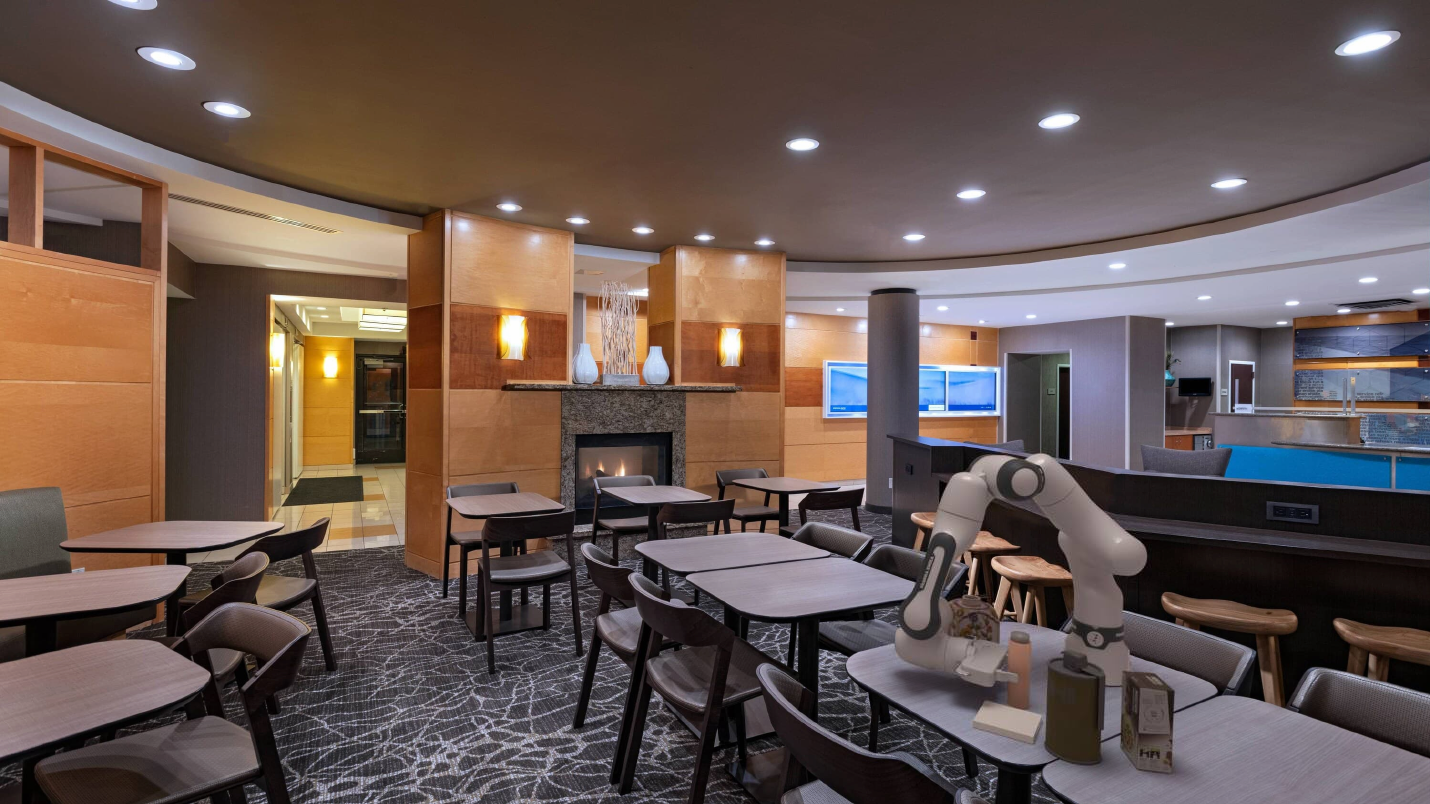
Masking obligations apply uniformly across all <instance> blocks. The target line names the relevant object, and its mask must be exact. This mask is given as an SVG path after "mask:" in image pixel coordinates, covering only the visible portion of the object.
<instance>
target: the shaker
mask: <svg viewBox="0 0 1430 804" xmlns="http://www.w3.org/2000/svg"><path fill="white" fill-rule="evenodd" d="M1030 637H1031V635H1030V634H1029V633H1028V632H1026V631H1025V632H1024V631H1022V630H1021V631H1020V630H1013V631H1011V632H1010V637H1009V638H1008V648H1009V650H1008V664H1007V672H1011V671H1012V672H1015V673H1018V674H1019V681H1018V682H1017V683H1016V682H1011V681H1006V683H1007V686H1006V687H1007V689H1006V704H1007V706H1009V707H1013V708H1017V709H1021V710H1028V709H1029V708H1030V697H1031V693H1030V691H1031V668H1032V667H1031V666H1032V665H1031V662H1032V641H1031V640H1030Z"/></svg>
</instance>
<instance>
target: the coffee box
mask: <svg viewBox="0 0 1430 804" xmlns="http://www.w3.org/2000/svg"><path fill="white" fill-rule="evenodd" d="M1175 694H1176V691H1175V690H1174V689H1173V688H1172V687H1171V686H1170V685H1169V684H1167V683H1166V682H1165V681H1164V680H1163V679H1162V678H1160V676H1159V675H1157V674H1156V673H1153V672H1146V671H1145V672H1144V671H1134V672H1129V671H1122V685H1121V701H1120V702H1121V703H1120V704H1121V705H1120V707H1121V708H1120V714H1121V715H1120V744H1119V745H1120V749H1121V750H1122V752H1124V754H1125V755H1126V756H1127V758H1128V759H1129V760H1130V762H1131V763H1132V765H1134V767H1135V768H1136V769H1137V770H1143V771H1149V772H1150V771H1151V772H1158V773H1164V774H1165V773H1166V774H1172V769H1173V768H1172V766H1173V765H1172V764H1173V742H1174V741H1173V740H1174V738H1173V737H1174V720H1175V719H1174V718H1175V717H1174V716H1175V715H1174V714H1175Z"/></svg>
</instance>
